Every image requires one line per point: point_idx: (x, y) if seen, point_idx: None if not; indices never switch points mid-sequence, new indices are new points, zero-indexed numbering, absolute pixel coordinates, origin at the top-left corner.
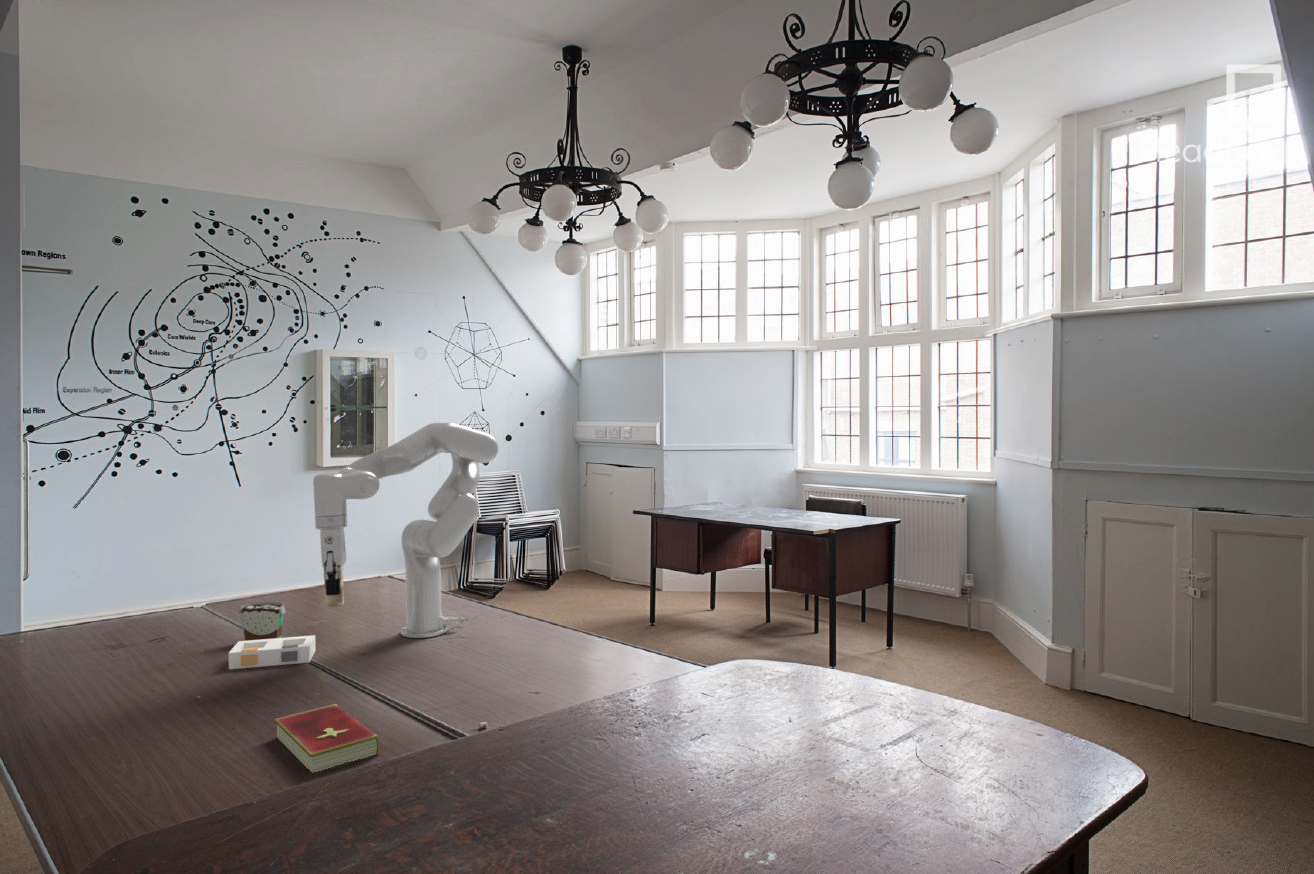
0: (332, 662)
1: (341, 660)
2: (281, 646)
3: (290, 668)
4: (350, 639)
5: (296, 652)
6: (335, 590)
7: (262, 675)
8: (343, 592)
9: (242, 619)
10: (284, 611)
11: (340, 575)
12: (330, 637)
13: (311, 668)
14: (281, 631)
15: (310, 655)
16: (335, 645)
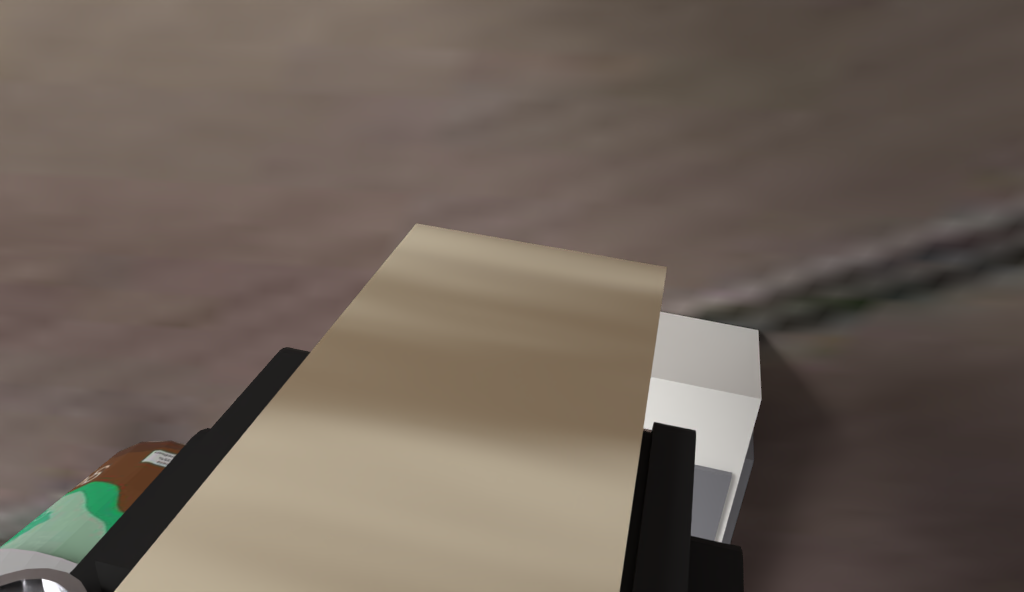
0: (865, 175)
1: (848, 102)
2: None
3: (844, 445)
4: (232, 7)
5: (751, 456)
6: (736, 559)
7: (904, 588)
8: (399, 310)
9: None
10: (58, 569)
11: None
12: (147, 157)
13: (940, 328)
14: (134, 475)
15: (703, 337)
16: (372, 131)
